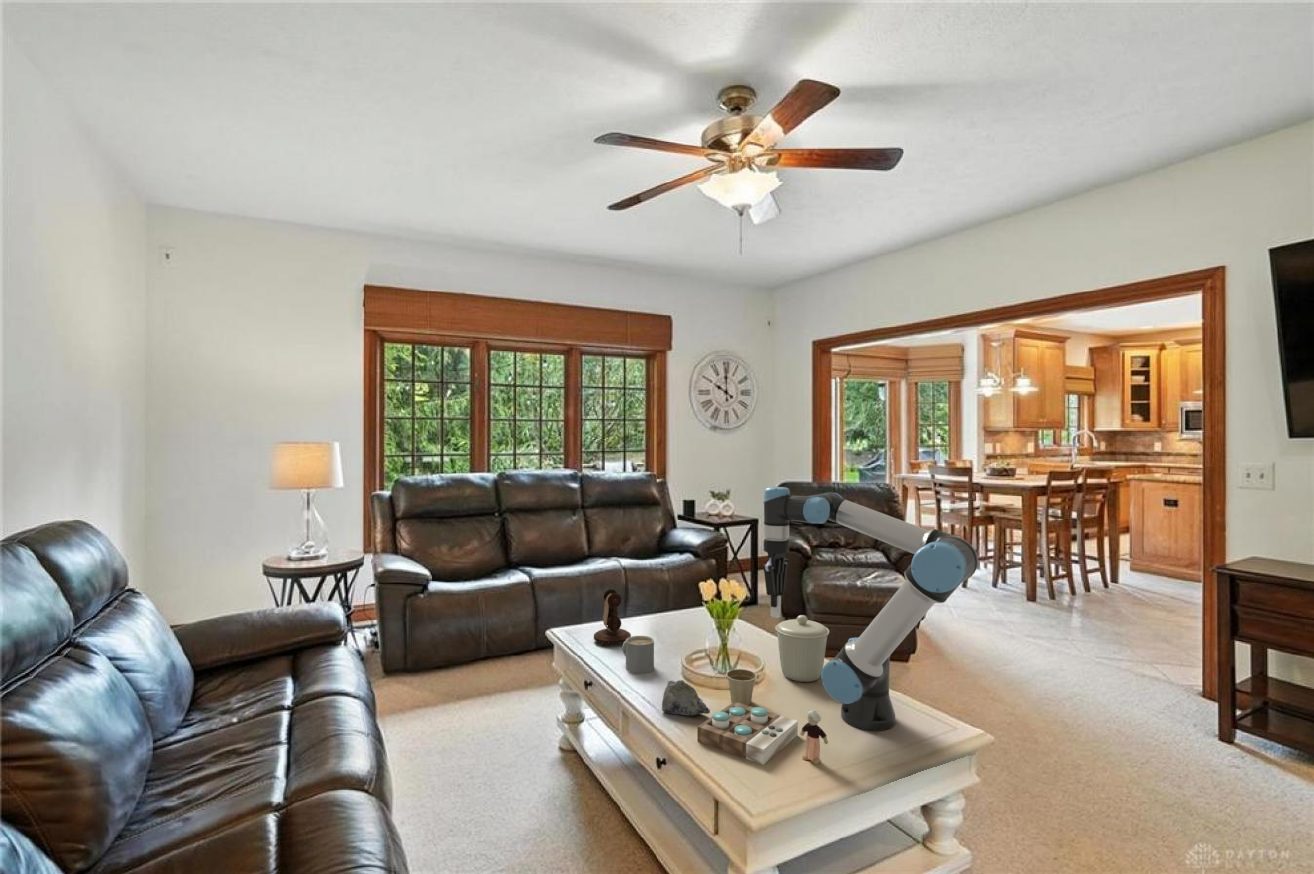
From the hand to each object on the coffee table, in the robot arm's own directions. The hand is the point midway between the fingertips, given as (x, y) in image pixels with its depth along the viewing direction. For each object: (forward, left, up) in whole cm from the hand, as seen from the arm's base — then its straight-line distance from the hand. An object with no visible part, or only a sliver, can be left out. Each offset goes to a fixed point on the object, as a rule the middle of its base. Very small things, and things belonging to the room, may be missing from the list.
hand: (775, 616), depth 191 cm
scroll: (+80, -17, -29) cm, 87 cm away
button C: (+4, +16, -28) cm, 32 cm away
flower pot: (+11, +1, -29) cm, 31 cm away
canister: (+5, -30, -29) cm, 42 cm away
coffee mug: (+55, -2, -29) cm, 62 cm away
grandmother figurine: (-21, +20, -29) cm, 41 cm away
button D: (+4, +25, -26) cm, 36 cm away
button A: (-3, +16, -26) cm, 31 cm away
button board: (-2, +20, -28) cm, 35 cm away
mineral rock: (+20, +19, -29) cm, 40 cm away
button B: (-3, +25, -28) cm, 37 cm away
